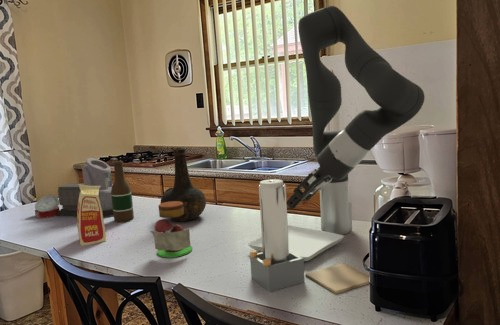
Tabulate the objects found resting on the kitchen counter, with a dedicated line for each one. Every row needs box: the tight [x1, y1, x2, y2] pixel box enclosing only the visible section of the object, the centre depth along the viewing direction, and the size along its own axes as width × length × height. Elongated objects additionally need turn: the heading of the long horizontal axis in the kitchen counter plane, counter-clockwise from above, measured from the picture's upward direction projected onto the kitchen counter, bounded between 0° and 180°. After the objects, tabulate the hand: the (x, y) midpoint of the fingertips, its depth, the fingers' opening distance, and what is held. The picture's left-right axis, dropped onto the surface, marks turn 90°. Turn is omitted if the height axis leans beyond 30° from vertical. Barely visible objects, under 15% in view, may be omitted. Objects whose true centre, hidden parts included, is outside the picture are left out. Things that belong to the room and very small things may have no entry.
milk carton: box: [76, 185, 107, 247], centre depth 145 cm, size 9×9×20 cm
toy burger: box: [149, 201, 193, 258], centre depth 129 cm, size 12×13×15 cm
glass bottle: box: [160, 147, 207, 222], centre depth 165 cm, size 18×18×28 cm
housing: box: [249, 249, 305, 293], centre depth 104 cm, size 10×10×7 cm
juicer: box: [55, 157, 114, 219], centre depth 184 cm, size 30×16×24 cm, turn 74°
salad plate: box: [248, 224, 345, 262], centre depth 126 cm, size 21×21×3 cm
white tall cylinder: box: [258, 178, 289, 265], centre depth 103 cm, size 6×6×25 cm
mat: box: [305, 262, 370, 295], centre depth 103 cm, size 12×12×1 cm
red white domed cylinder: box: [34, 194, 61, 219], centre depth 187 cm, size 11×10×10 cm
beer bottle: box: [111, 160, 135, 223], centre depth 169 cm, size 8×8×24 cm
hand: (297, 201), depth 99 cm, fingers open, 8 cm apart
